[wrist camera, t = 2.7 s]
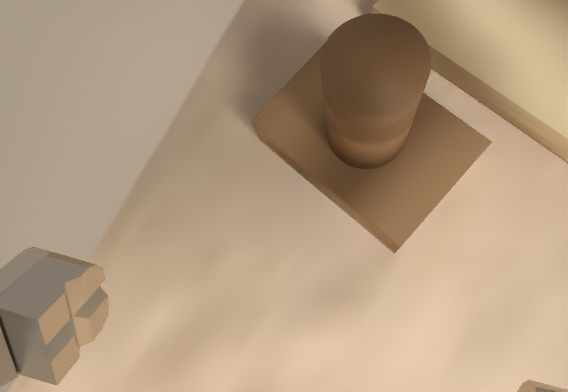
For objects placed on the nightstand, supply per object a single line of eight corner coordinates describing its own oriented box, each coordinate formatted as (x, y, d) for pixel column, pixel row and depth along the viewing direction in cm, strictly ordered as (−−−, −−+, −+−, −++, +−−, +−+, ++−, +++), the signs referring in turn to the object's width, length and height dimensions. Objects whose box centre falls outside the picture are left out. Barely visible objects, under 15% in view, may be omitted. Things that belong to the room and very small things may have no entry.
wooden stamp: (261, 142, 22) (215, 52, 14) (337, 60, 22) (333, -70, 15) (394, 254, 20) (424, 219, 12) (474, 161, 20) (553, 71, 13)
